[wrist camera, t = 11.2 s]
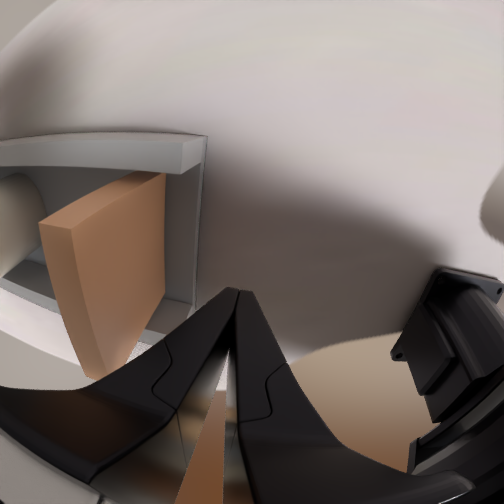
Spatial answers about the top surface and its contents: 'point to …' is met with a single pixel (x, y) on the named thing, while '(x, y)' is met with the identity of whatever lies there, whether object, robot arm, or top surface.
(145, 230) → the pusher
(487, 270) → the top surface
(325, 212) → the top surface
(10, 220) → the cream brown-topped cylinder
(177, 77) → the top surface
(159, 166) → the grey tray
